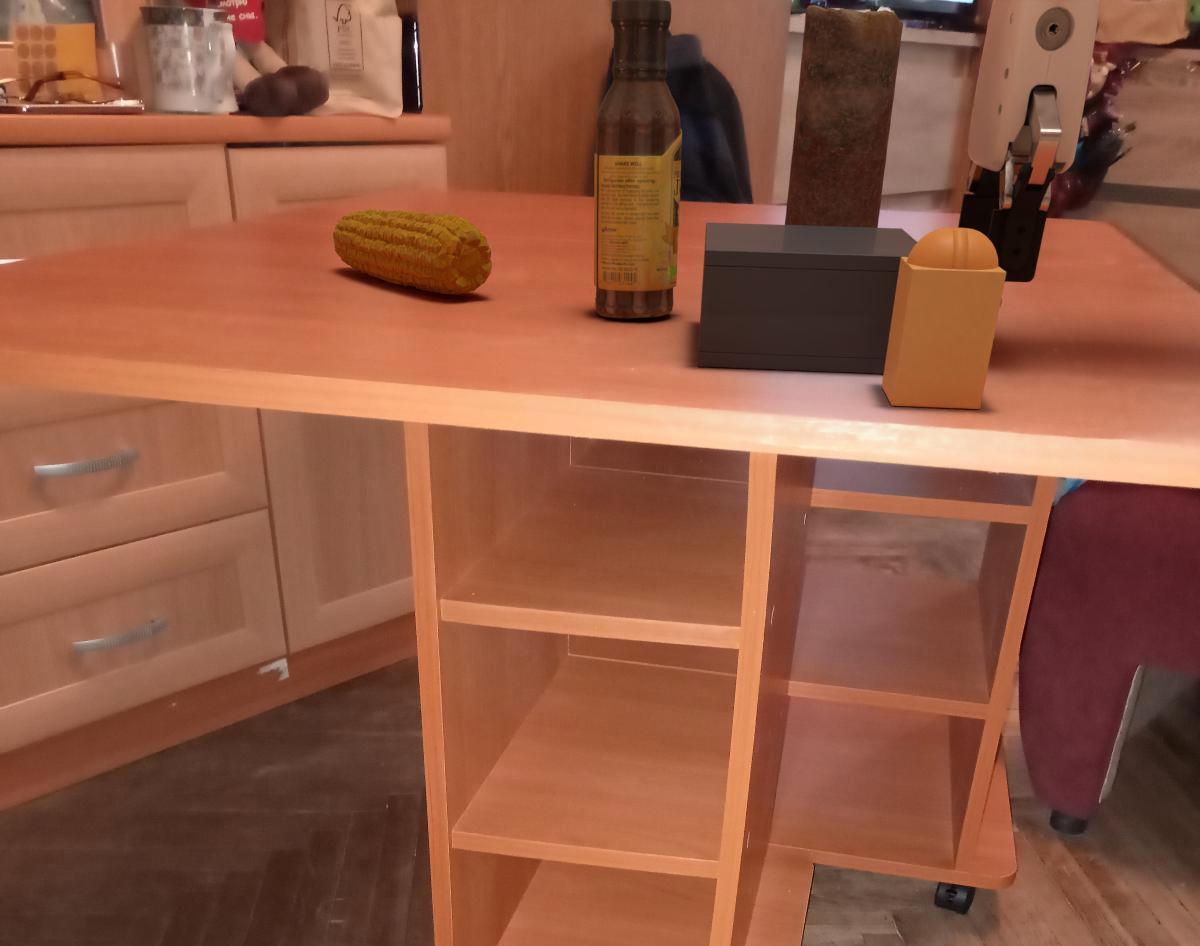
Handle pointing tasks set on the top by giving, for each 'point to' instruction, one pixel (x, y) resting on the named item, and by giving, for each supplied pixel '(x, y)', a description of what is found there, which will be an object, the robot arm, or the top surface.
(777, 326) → the cabinet
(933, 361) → the orange container
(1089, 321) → the top surface
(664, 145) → the sauce bottle
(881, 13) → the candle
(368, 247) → the food
